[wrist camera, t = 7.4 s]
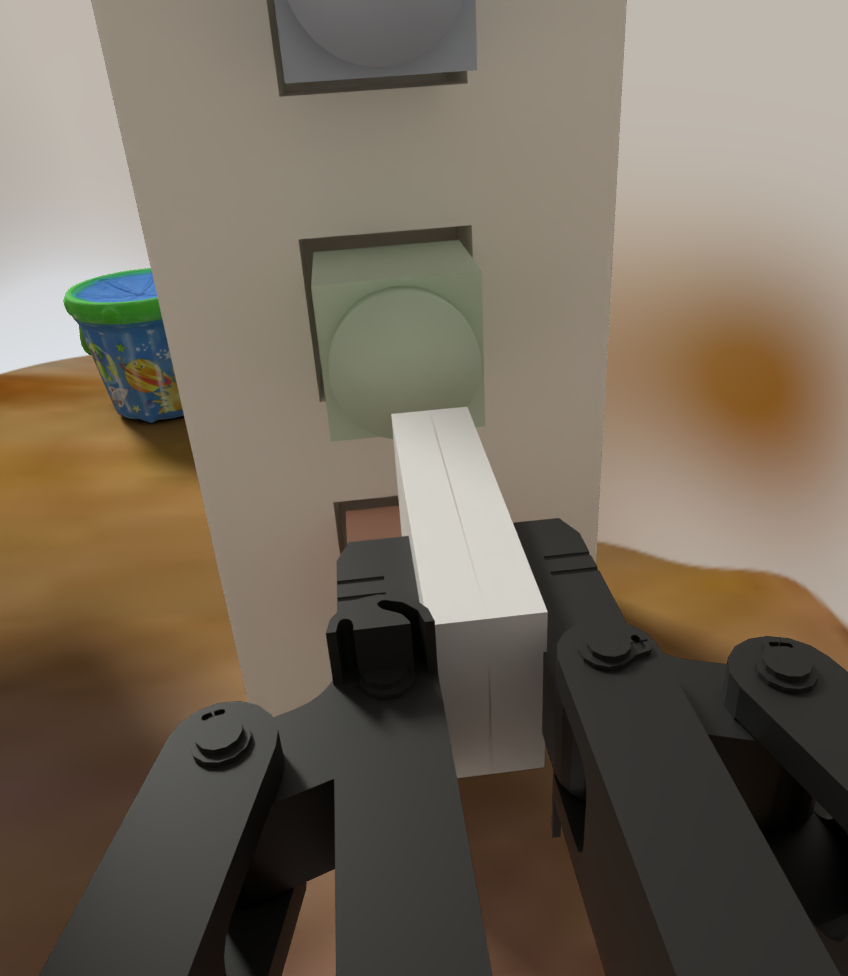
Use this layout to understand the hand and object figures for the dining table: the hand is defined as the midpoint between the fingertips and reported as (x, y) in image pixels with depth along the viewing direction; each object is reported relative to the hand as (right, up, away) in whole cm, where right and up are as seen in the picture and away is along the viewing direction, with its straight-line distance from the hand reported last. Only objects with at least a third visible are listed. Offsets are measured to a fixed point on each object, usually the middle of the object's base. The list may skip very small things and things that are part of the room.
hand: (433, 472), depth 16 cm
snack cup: (-21, +6, +49) cm, 54 cm away
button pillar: (-1, -7, +21) cm, 23 cm away
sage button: (-1, +2, +8) cm, 8 cm away
